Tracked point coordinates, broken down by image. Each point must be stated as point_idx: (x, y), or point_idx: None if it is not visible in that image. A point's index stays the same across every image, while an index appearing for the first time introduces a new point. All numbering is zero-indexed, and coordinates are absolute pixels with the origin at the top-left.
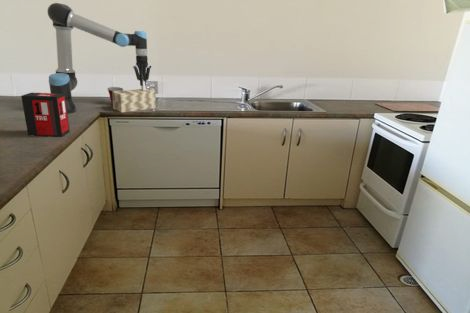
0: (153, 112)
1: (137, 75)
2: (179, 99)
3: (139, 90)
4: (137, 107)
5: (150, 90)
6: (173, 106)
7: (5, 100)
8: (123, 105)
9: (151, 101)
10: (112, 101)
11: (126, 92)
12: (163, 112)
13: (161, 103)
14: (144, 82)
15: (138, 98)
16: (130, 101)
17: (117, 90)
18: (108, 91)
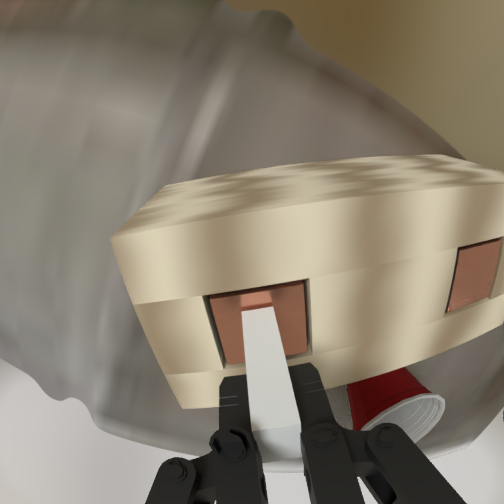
0: (247, 42)
1: (449, 494)
2: (9, 359)
3: (302, 346)
4: (344, 162)
5: (162, 313)
6: (35, 203)
7: (499, 411)
8: (458, 161)
9: (197, 190)
10: None
11: (472, 261)
12: (172, 19)
13: (91, 319)
14: (261, 407)
15: (365, 176)
16: (429, 168)
17: (420, 397)
18: (427, 410)
